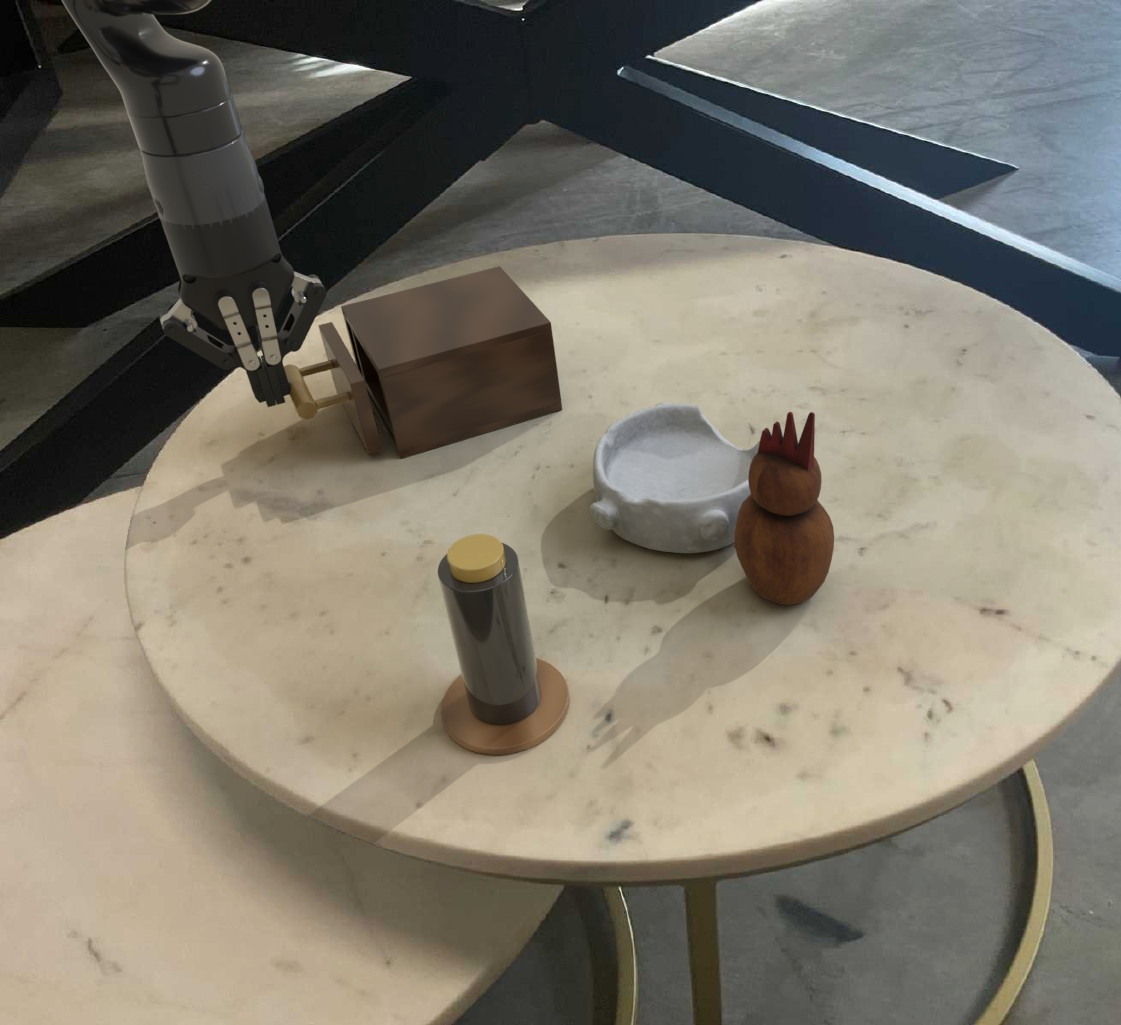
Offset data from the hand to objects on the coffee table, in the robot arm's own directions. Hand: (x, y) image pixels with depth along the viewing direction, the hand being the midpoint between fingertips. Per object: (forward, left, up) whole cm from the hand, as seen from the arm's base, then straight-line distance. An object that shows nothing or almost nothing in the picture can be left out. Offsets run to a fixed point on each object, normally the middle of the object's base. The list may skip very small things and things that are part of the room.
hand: (274, 400), depth 94 cm
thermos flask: (+6, -37, -4) cm, 38 cm away
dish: (+25, -24, -5) cm, 35 cm away
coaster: (+6, -37, -5) cm, 38 cm away
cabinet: (+15, 0, -5) cm, 16 cm away
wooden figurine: (+27, -36, -5) cm, 46 cm away
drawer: (+10, 0, -4) cm, 11 cm away
